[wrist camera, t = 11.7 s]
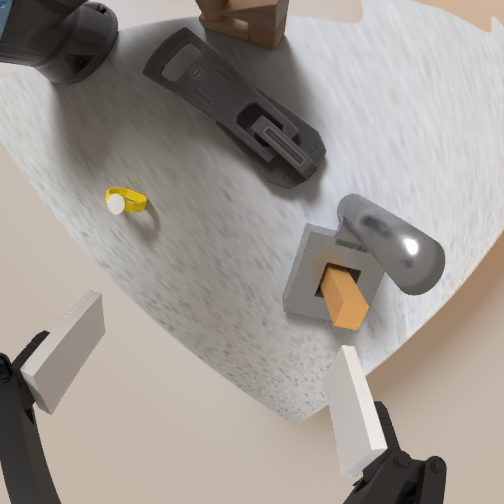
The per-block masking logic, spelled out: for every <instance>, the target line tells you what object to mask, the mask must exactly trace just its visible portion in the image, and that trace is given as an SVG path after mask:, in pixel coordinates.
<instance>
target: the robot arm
mask: <svg viewBox="0 0 504 504" xmlns="http://www.w3.org/2000/svg"><path fill="white" fill-rule="evenodd" d="M117 30H118V21H117V17H116V15H115V13H114V12H113V11H112V10H111V9H109V8H108V7H107V6H105V5H103V4H101V3H98V2H89V1H88V0H0V62H4V63H11V64H19V65H25V66H31V67H34V68H35V69H37V70H38V71H39V72H40V73H41V74H42V75H44V76H45V77H46V78H47V79H48V80H50V81H52V82H55V83H60V84H72V83H76V82H78V81H80V80H82V79H84V78H86V77H87V76H88V75H90V74H91V73H92V72H93V71H94V70H96V69H97V68H98V67H99V65H100V64H101V63H102V62H103V61H104V59H105V58H106V57H107V55H108V53H109V52H110V50H111V48H112V46H113V44H114V42H115V39H116V35H117ZM104 333H105V327H104V318H103V308H102V295H101V294H100V293H97V292H94V291H91V290H90V291H89V292H88V293H87V294H86V295H85V296H84V297H83V298H82V299H81V300H80V301H79V302H78V303H77V304H76V305H75V306H74V307H73V309H72V310H71V311H70V312H69V313H68V314H67V315H66V316H65V317H64V318H63V319H62V321H61V322H60V323H59V324H58V325H57V326H56V327H55V328H54V329H53V330H52V332H51V333H50V332H47V331H45V330H44V331H43V332H41V333H39V334H37V335H36V336H35V337H34V338H33V339H32V341H31V343H29V344H28V345H27V346H26V348H24V350H23V351H22V352H21V353H20V354H19V355H18V356H17V358H16V359H15V360H14V361H13V362H12V364H11V362H10V360H9V358H8V357H7V355H5V354H3V353H0V462H1V466H2V471H3V475H4V479H5V483H6V487H7V491H8V494H9V498H10V501H11V504H61V502H60V500H59V497H58V495H57V492H56V489H55V487H54V484H53V481H52V478H51V475H50V472H49V469H48V466H47V463H46V459H45V456H44V452H43V449H42V445H41V441H40V437H39V433H38V428H37V424H36V419H35V414H34V410H33V406H32V405H33V403H34V402H36V404H37V405H38V407H39V408H40V409H41V410H43V411H45V412H47V413H49V414H50V415H52V413H53V412H54V410H55V408H56V407H57V405H58V403H59V402H60V400H61V398H62V397H63V395H64V394H65V392H66V390H67V389H68V387H69V386H70V384H71V382H72V381H73V379H74V378H75V376H76V375H77V373H78V372H79V370H80V368H81V367H82V366H83V364H84V362H85V361H86V359H87V358H88V357H89V355H90V354H91V352H92V351H93V349H94V348H95V346H96V345H97V343H98V342H99V341H100V339H101V338H102V336H103V335H104ZM324 383H325V388H326V393H327V398H328V403H329V408H330V414H331V419H332V425H333V430H334V436H335V442H336V447H337V454H338V459H339V466H340V472H341V477H348V476H356V475H357V474H359V473H360V472H361V471H362V472H363V477H362V478H361V479H359V480H358V481H357V482H355V483H354V484H353V486H355V485H356V486H355V488H354V489H353V491H352V492H351V494H350V495H349V496H348V498H347V499H346V500H345V502H344V503H343V504H443V500H444V492H445V483H446V470H447V468H446V463H445V462H444V460H443V459H442V458H440V457H438V456H432V457H430V458H429V459H427V460H426V461H421V460H415V459H411V457H410V455H409V454H407V453H406V452H404V451H401V449H400V447H399V444H398V441H397V437H396V434H395V431H394V428H393V426H392V422H391V419H390V417H389V413H388V411H387V408H386V407H385V406H384V405H383V403H382V402H380V401H379V402H378V401H377V402H375V401H373V399H372V396H371V393H370V390H369V387H368V384H367V381H366V379H365V376H364V373H363V370H362V367H361V364H360V361H359V359H358V356H357V353H356V350H355V348H354V346H346V345H341V347H340V349H339V351H338V353H337V355H336V357H335V359H334V361H333V363H332V365H331V367H330V369H329V370H328V372H327V374H326V376H325V378H324Z"/></svg>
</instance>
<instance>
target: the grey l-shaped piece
mask: <svg viewBox="0 0 504 504" xmlns="http://www.w3.org/2000/svg"><path fill="white" fill-rule="evenodd" d="M337 215H338V218H339V220H340V223H339V226H338V229H337V231H333V230H330V229H326V228H323V227H319V226H315V225H312V224H308V223H306V226H305V229H304V233H303V236H302V239H301V242H300V245H299V249H298V252H297V255H296V258H295V261H294V264H293V267H292V270H291V274H290V277H289V280H288V283H287V286H286V289H285V292H284V295H283V309H284V312H289V313H294V314H298V315H303V316H308V317H313V318H317V319H322V320H327V321H332V319H331V316H330V313H329V310H328V307H327V304H326V301H325V298H324V296H323V293H322V290H321V287H320V285H319V283H320V280H321V277H322V275H323V272H324V269H325V266H326V264H327V262H329V263H333V264H337V265H341V266H345V267H348V268H351V269H350V272H349V274H350V275H351V277H352V279H353V280H354V282H355V284H356V285H357V287H358V289H359V291H360V292H361V294H362V296H363V297H364V299H365V301H366V303H367V305H368V306H369V305H370V303H371V301H372V299H373V296H374V294H375V292H376V290H377V287H378V285H379V283H380V281H381V278H382V276H383V273H384V271H385V272H386V273H387V274H388V275H389V276H390V278H391V279H392V280H393V281H394V282H395V284H396V285H397V286H398V287H399V288H400V289H401V291H403V292H404V293H406V294H408V295H420V294H423V293H425V292H427V291H429V290H430V289H431V288H433V287H434V286H435V285H436V283H437V282H438V281H439V279H440V278H441V276H442V273H443V271H444V267H445V253H444V250H443V248H442V246H441V245H440V244H439V243H438V242H437V241H435V240H434V239H432V238H431V237H429V236H428V235H426V234H425V233H423V232H422V231H420V230H418V229H417V228H415V227H414V226H412V225H410V224H409V223H407V222H405V221H404V220H402V219H400V218H399V217H397V216H395V215H394V214H392V213H390V212H389V211H387V210H385V209H384V208H382V207H380V206H378V205H377V204H375V203H373V202H371V201H369V200H368V199H366V198H364V197H362V196H360V195H357V194H350V195H347V196H345V197H344V198H343V199H342V200H341V201H340V203H339V205H338V208H337Z"/></svg>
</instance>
